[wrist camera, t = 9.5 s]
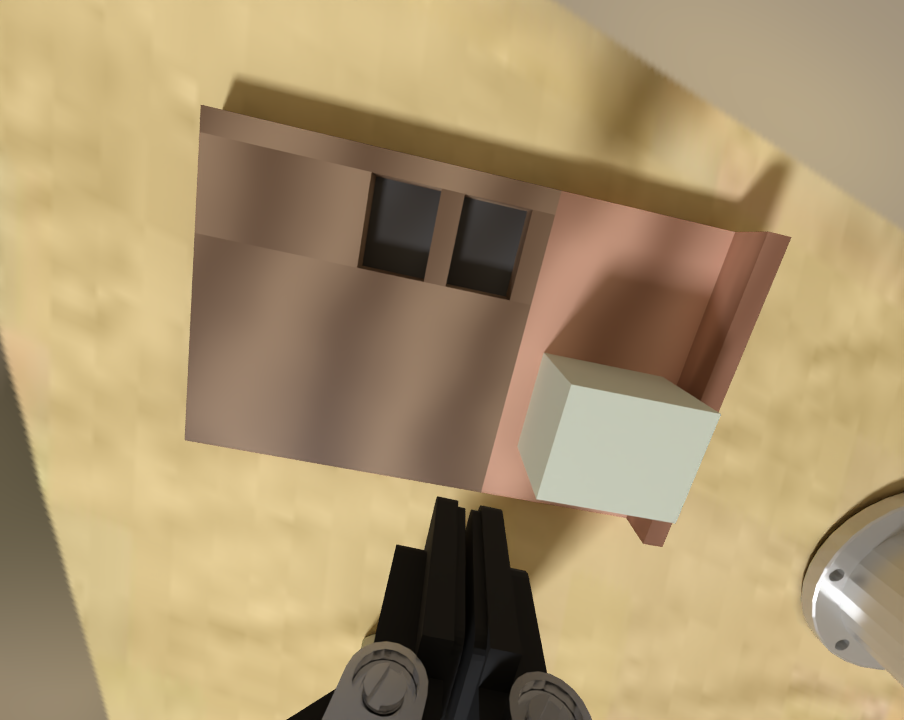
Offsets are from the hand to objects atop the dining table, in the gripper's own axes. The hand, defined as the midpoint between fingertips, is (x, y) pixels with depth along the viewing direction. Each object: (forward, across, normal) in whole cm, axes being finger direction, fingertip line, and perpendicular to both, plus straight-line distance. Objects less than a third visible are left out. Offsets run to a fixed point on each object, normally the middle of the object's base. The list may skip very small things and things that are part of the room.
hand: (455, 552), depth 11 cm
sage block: (+11, -6, -1) cm, 13 cm away
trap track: (+12, +1, -3) cm, 12 cm away
